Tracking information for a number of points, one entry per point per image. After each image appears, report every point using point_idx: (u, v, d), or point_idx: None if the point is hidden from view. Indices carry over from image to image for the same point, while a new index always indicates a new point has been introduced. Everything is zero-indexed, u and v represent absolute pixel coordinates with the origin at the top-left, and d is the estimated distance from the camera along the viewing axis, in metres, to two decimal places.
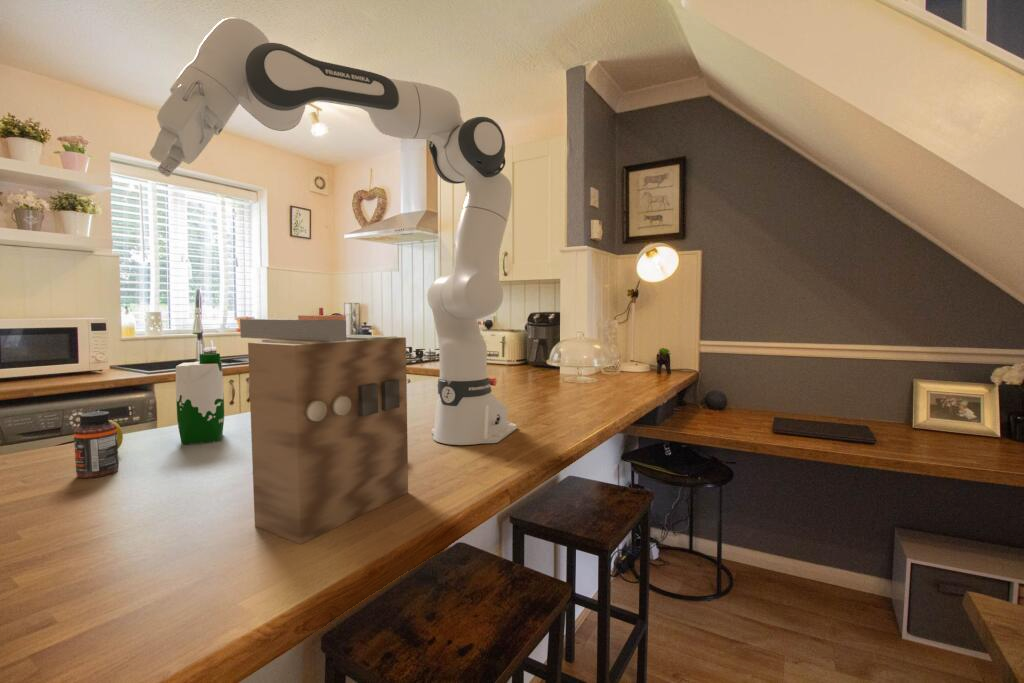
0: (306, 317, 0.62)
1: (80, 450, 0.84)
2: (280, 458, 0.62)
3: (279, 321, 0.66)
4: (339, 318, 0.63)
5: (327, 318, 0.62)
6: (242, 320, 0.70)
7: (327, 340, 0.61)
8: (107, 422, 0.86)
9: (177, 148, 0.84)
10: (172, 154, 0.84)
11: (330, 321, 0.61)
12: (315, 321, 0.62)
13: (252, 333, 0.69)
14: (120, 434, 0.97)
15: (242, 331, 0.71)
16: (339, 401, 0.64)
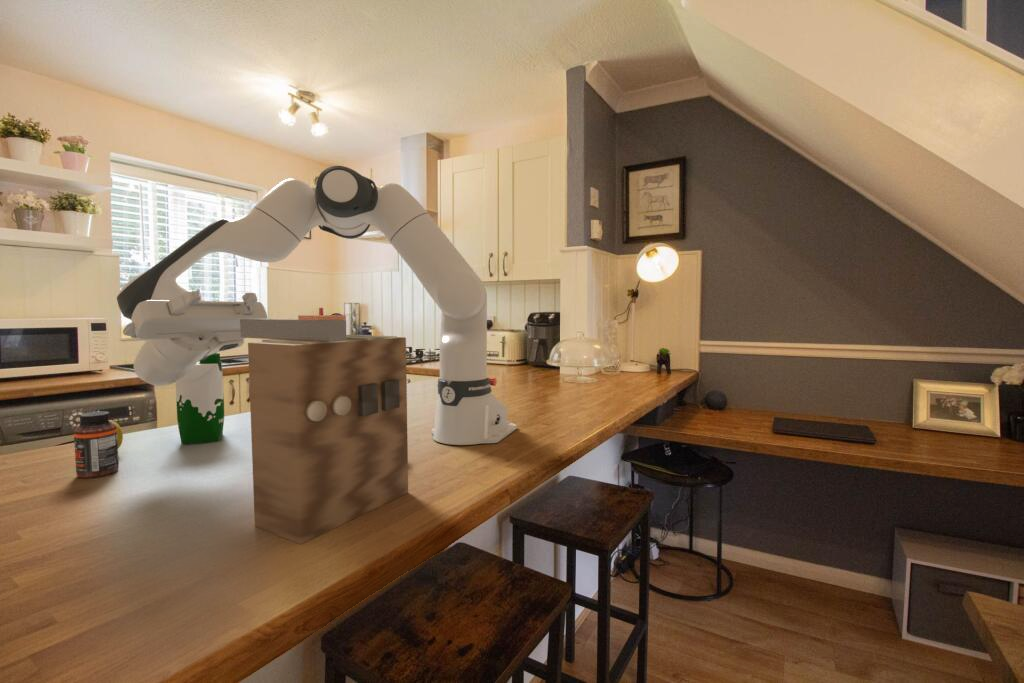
0: (306, 317, 0.62)
1: (80, 450, 0.84)
2: (280, 458, 0.62)
3: (279, 321, 0.66)
4: (339, 318, 0.63)
5: (327, 318, 0.62)
6: (242, 320, 0.70)
7: (327, 340, 0.61)
8: (107, 422, 0.86)
9: (235, 311, 0.85)
10: (244, 310, 0.85)
11: (330, 321, 0.61)
12: (315, 321, 0.62)
13: (252, 333, 0.69)
14: (120, 434, 0.97)
15: (242, 331, 0.71)
16: (339, 401, 0.64)
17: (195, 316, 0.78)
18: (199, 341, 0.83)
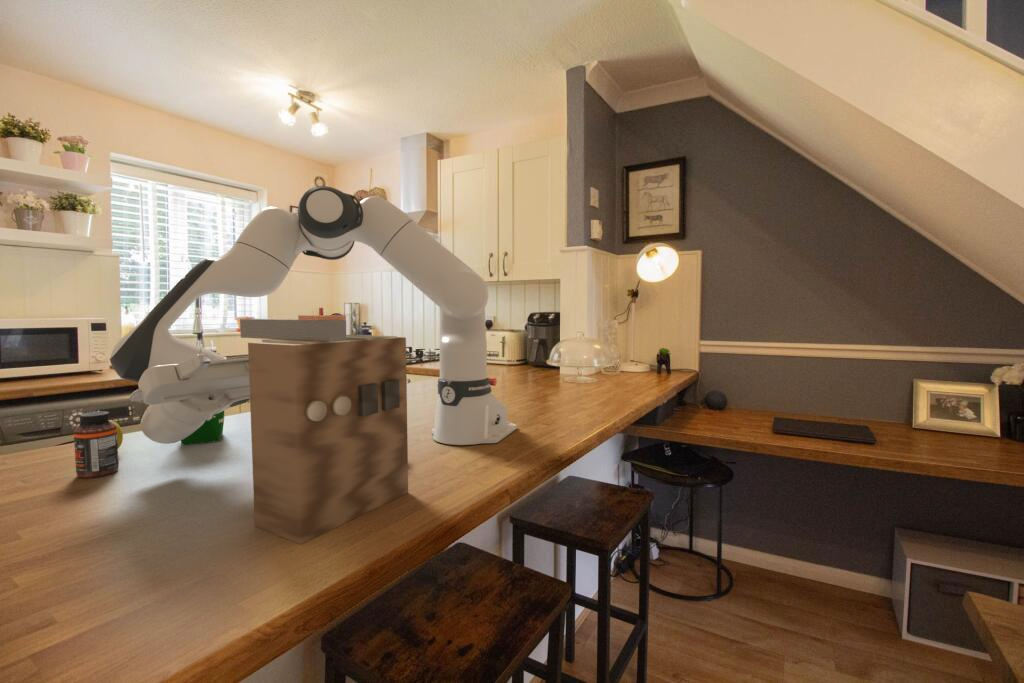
0: (306, 317, 0.62)
1: (80, 450, 0.84)
2: (280, 458, 0.62)
3: (279, 321, 0.66)
4: (339, 318, 0.63)
5: (327, 318, 0.62)
6: (242, 320, 0.70)
7: (327, 340, 0.61)
8: (107, 422, 0.86)
9: (246, 368, 0.81)
10: None
11: (330, 321, 0.61)
12: (315, 321, 0.62)
13: (252, 333, 0.69)
14: (120, 434, 0.97)
15: (242, 331, 0.71)
16: (339, 401, 0.64)
17: (205, 378, 0.74)
18: (209, 401, 0.79)
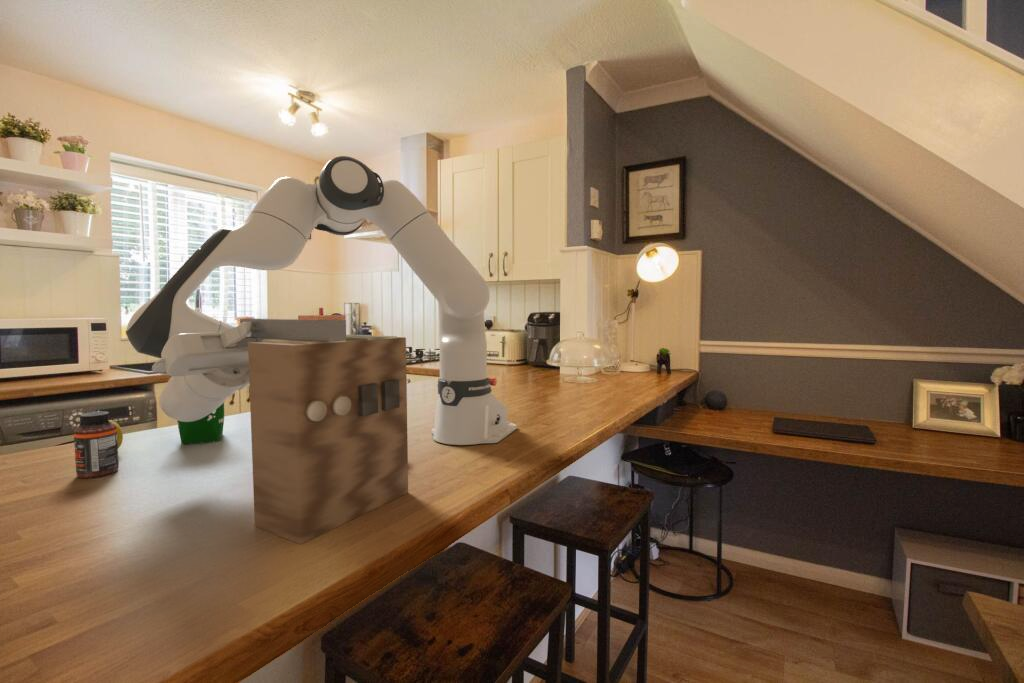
0: (306, 317, 0.62)
1: (80, 450, 0.84)
2: (280, 458, 0.62)
3: (279, 321, 0.66)
4: (339, 318, 0.63)
5: (327, 318, 0.62)
6: (242, 320, 0.70)
7: (327, 340, 0.61)
8: (107, 422, 0.86)
9: None
10: None
11: (330, 321, 0.61)
12: (315, 321, 0.62)
13: None
14: (120, 434, 0.97)
15: None
16: (339, 401, 0.64)
17: (231, 349, 0.69)
18: (234, 375, 0.74)
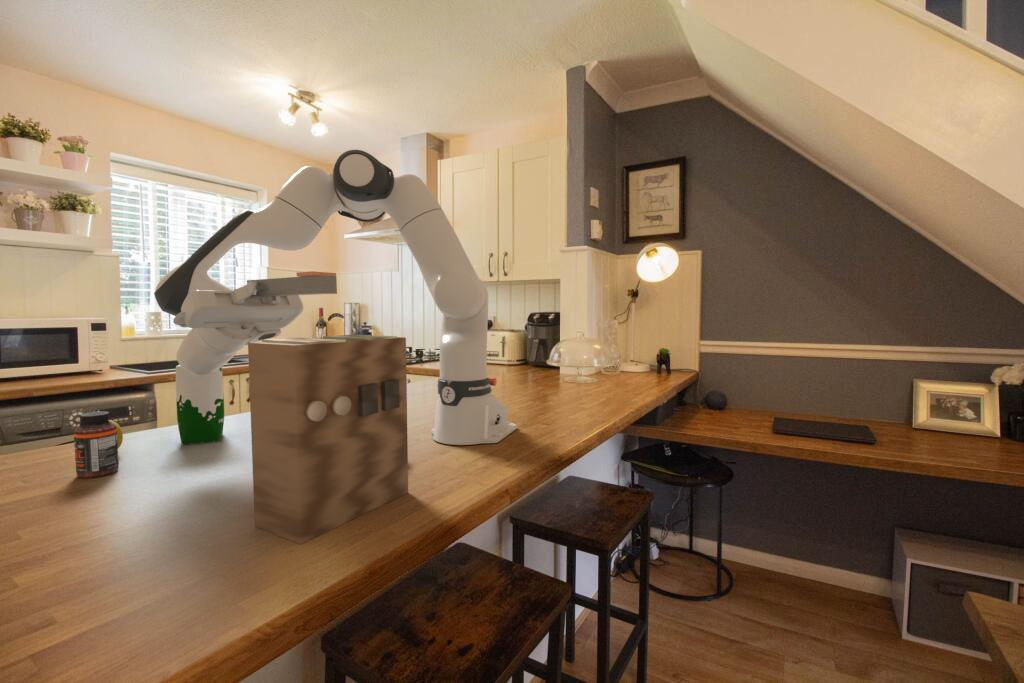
0: (303, 273, 0.74)
1: (80, 450, 0.84)
2: (280, 458, 0.62)
3: (280, 279, 0.78)
4: (330, 275, 0.76)
5: (320, 274, 0.74)
6: None
7: (320, 292, 0.74)
8: (107, 422, 0.87)
9: (262, 301, 0.87)
10: (270, 299, 0.87)
11: (323, 276, 0.74)
12: (310, 277, 0.75)
13: None
14: (120, 434, 0.97)
15: None
16: (339, 401, 0.64)
17: (240, 305, 0.82)
18: (242, 330, 0.87)
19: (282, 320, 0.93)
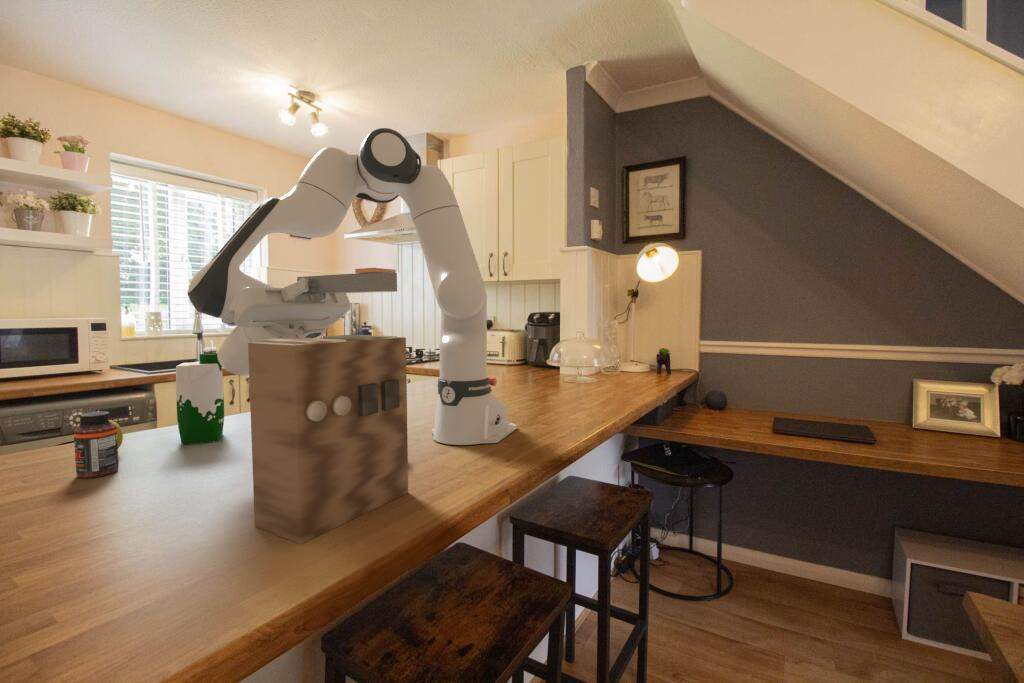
0: (363, 270, 0.70)
1: (80, 450, 0.84)
2: (280, 458, 0.62)
3: (335, 276, 0.74)
4: (390, 272, 0.72)
5: (381, 270, 0.70)
6: (299, 278, 0.79)
7: (382, 289, 0.69)
8: (107, 422, 0.86)
9: (311, 299, 0.82)
10: (319, 297, 0.82)
11: (384, 273, 0.69)
12: (370, 273, 0.70)
13: None
14: (120, 434, 0.97)
15: None
16: (339, 401, 0.64)
17: (290, 303, 0.78)
18: (289, 329, 0.83)
19: (329, 319, 0.89)
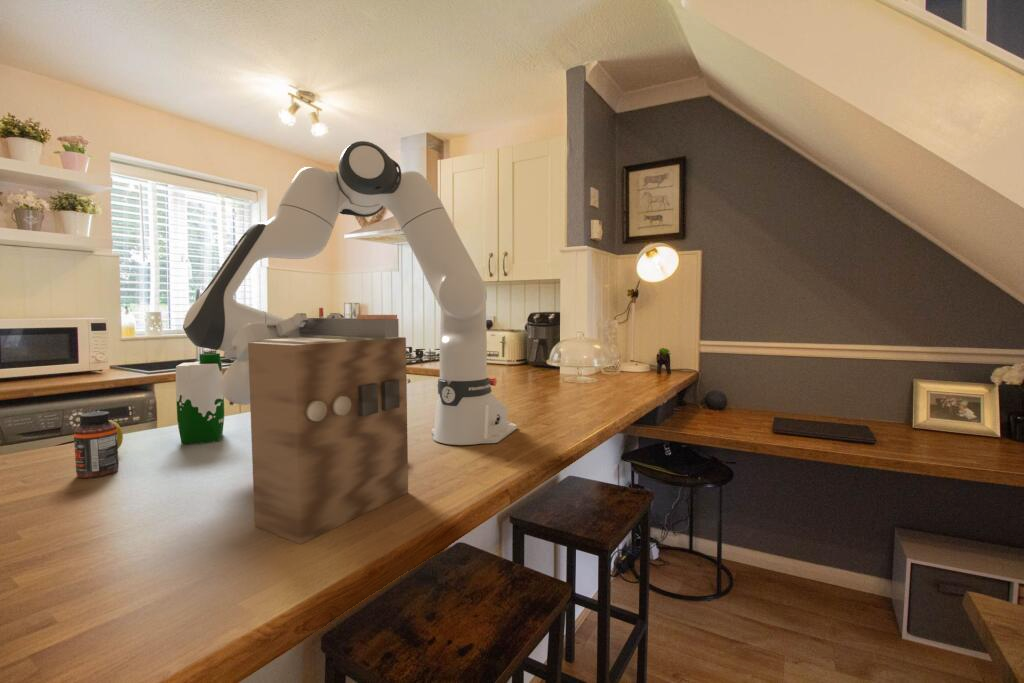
0: (364, 316, 0.70)
1: (80, 450, 0.84)
2: (280, 458, 0.62)
3: (337, 320, 0.75)
4: (392, 317, 0.72)
5: (383, 317, 0.70)
6: None
7: (383, 336, 0.70)
8: (107, 422, 0.86)
9: None
10: None
11: (386, 320, 0.70)
12: (372, 320, 0.71)
13: (311, 330, 0.78)
14: (120, 434, 0.97)
15: (301, 329, 0.79)
16: (339, 401, 0.64)
17: None
18: None
19: None
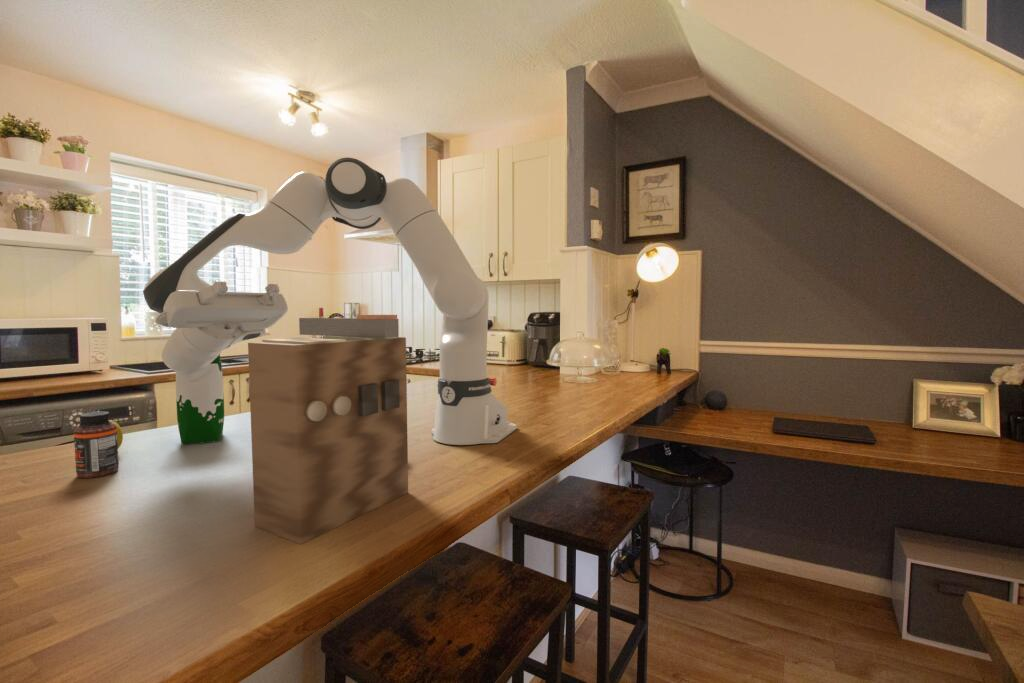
0: (364, 316, 0.70)
1: (80, 450, 0.84)
2: (280, 458, 0.62)
3: (337, 320, 0.75)
4: (392, 317, 0.72)
5: (383, 317, 0.70)
6: (301, 319, 0.79)
7: (383, 336, 0.70)
8: (107, 422, 0.86)
9: (259, 302, 0.89)
10: (267, 300, 0.90)
11: (386, 320, 0.70)
12: (372, 320, 0.71)
13: (311, 330, 0.78)
14: (120, 434, 0.97)
15: (301, 329, 0.79)
16: (339, 401, 0.64)
17: (222, 306, 0.83)
18: (225, 330, 0.87)
19: (267, 320, 0.94)
